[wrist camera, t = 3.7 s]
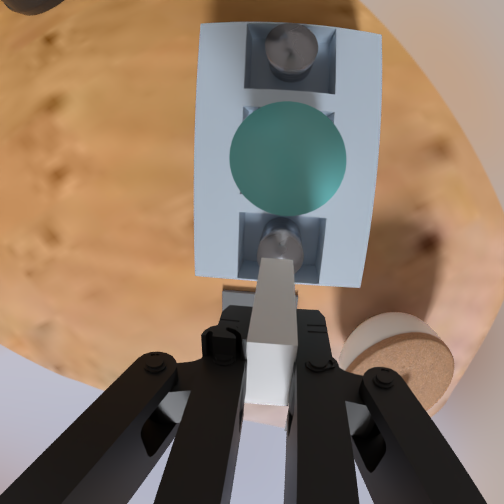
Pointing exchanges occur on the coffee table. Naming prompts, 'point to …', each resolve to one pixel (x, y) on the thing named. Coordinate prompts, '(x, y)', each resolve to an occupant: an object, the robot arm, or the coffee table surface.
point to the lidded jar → (401, 353)
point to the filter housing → (274, 90)
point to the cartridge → (287, 158)
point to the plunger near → (291, 51)
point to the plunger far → (281, 242)
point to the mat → (240, 298)
